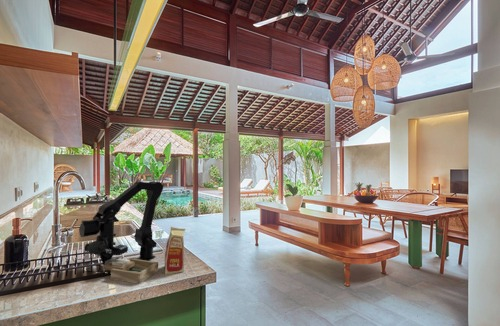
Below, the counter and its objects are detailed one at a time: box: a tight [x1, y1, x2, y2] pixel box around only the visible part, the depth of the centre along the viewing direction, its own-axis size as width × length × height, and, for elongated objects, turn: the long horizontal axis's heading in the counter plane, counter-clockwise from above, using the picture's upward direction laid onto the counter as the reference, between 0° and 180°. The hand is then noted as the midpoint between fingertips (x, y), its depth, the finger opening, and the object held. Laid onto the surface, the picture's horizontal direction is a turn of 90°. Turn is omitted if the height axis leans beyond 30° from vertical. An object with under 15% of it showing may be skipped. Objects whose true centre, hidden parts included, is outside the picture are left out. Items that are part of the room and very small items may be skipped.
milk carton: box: [164, 226, 186, 275], centre depth 123 cm, size 9×9×20 cm
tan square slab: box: [102, 256, 135, 273], centre depth 117 cm, size 8×10×5 cm
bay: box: [110, 258, 159, 284], centre depth 115 cm, size 13×14×4 cm
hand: (105, 266), depth 119 cm, fingers closed
